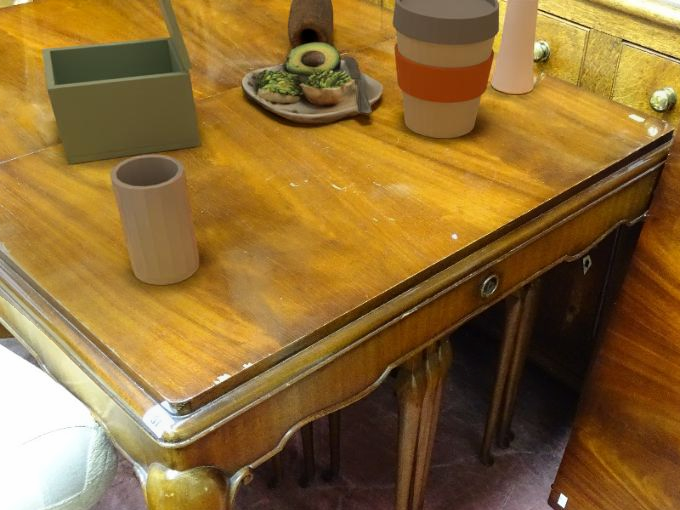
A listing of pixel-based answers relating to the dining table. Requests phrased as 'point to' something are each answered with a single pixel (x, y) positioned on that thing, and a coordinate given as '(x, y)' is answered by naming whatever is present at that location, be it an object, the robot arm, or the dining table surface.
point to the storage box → (120, 99)
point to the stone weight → (310, 22)
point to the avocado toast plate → (313, 86)
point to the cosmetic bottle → (517, 48)
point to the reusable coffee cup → (443, 62)
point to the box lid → (174, 32)
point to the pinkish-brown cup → (156, 218)
